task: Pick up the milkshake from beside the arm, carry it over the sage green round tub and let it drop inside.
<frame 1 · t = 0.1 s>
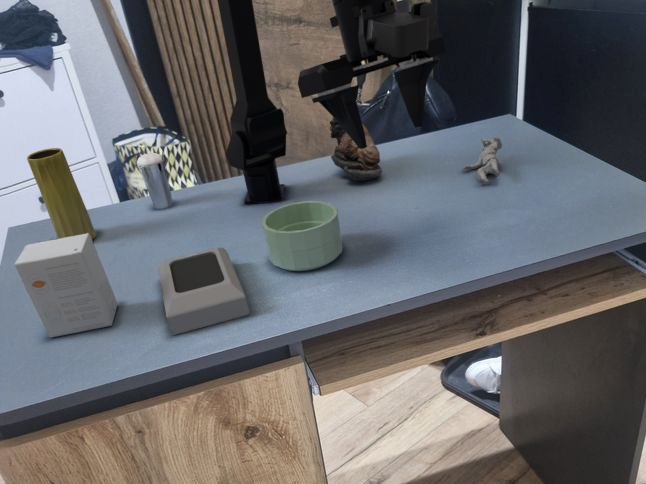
hand: (391, 137, 78), 15 cm above the table, tool pointing down, fingers open, 9 cm apart
milkshake: (166, 206, 113), on the table
vase: (79, 240, 105), on the table
small box: (85, 322, 82), on the table
sage green round tub: (306, 256, 90), on the table
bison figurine: (357, 176, 114), on the table
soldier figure: (488, 173, 107), on the table
grey flat block: (204, 298, 84), on the table
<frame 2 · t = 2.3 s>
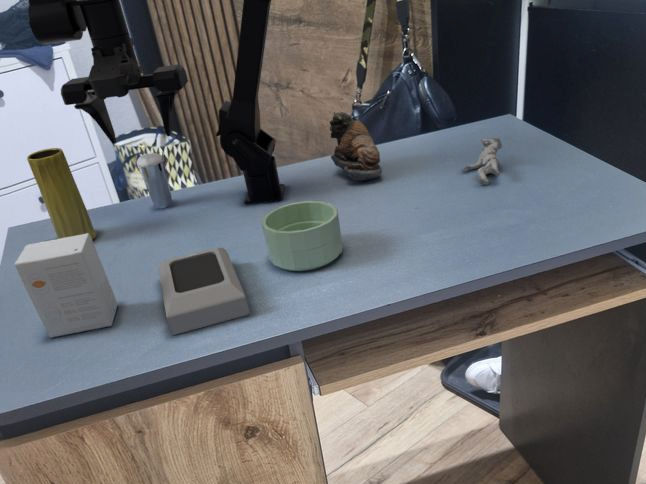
hand: (141, 139, 105), 12 cm above the table, tool pointing down, fingers open, 9 cm apart
nothing on the table moved.
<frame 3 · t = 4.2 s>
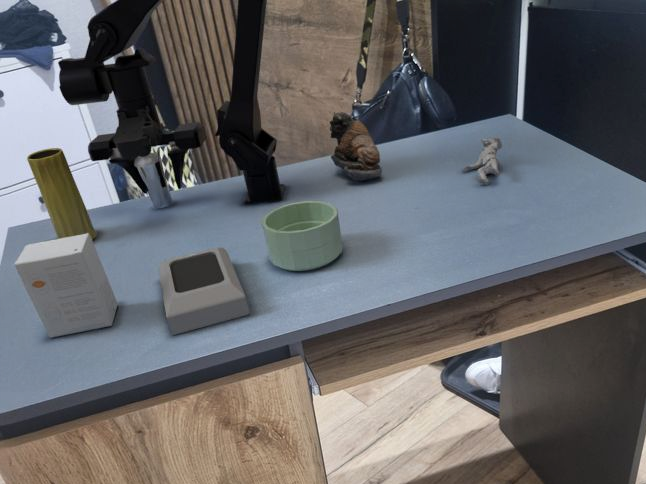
hand: (162, 190, 111), 3 cm above the table, tool pointing down, fingers closed on milkshake, 6 cm apart
milkshake: (166, 205, 113), on the table, touching gripper
everything else where it was.
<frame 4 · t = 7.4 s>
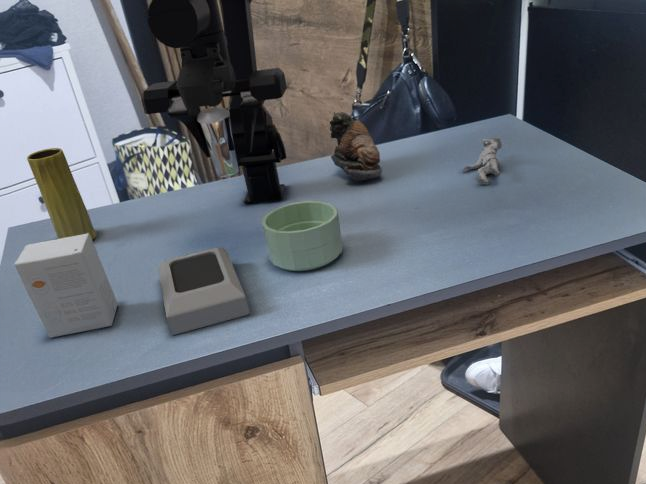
hand: (229, 154, 91), 13 cm above the table, tool pointing down, fingers closed on milkshake, 5 cm apart
milkshake: (231, 174, 92), point 10 cm above the table, touching gripper
everything else where it was.
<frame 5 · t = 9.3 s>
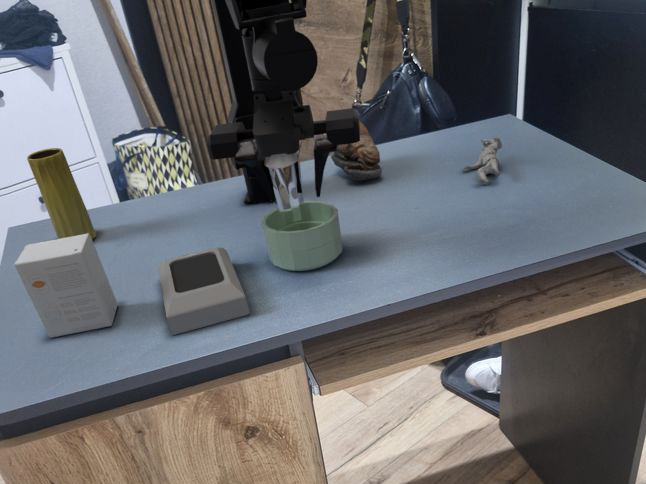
hand: (296, 198, 85), 8 cm above the table, tool pointing down, fingers closed on milkshake, 6 cm apart
milkshake: (297, 218, 86), point 6 cm above the table, touching gripper
everything else where it was.
when the fingers open (6 cm above the table, at t = 11.2 s): milkshake stays where it is, resting on sage green round tub.
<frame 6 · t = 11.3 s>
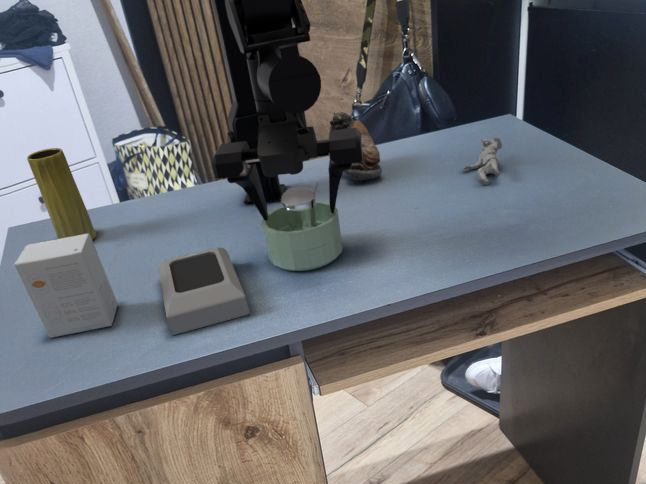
hand: (299, 215, 86), 6 cm above the table, tool pointing down, fingers open, 9 cm apart
milkshake: (310, 253, 89), resting on sage green round tub
everything else where it was.
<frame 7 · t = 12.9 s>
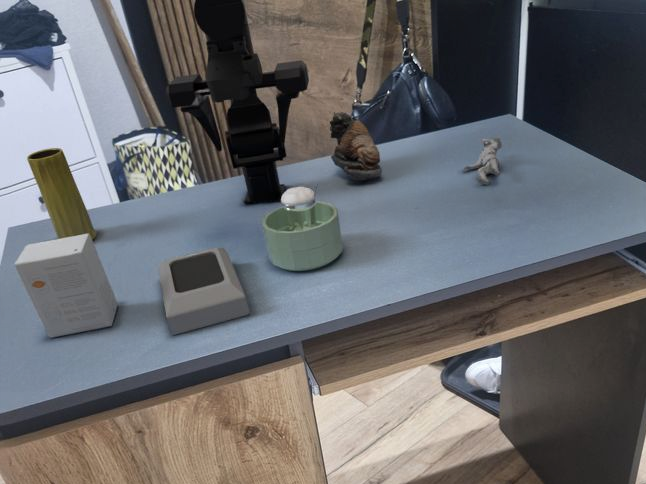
hand: (251, 146, 92), 13 cm above the table, tool pointing down, fingers open, 9 cm apart
nothing on the table moved.
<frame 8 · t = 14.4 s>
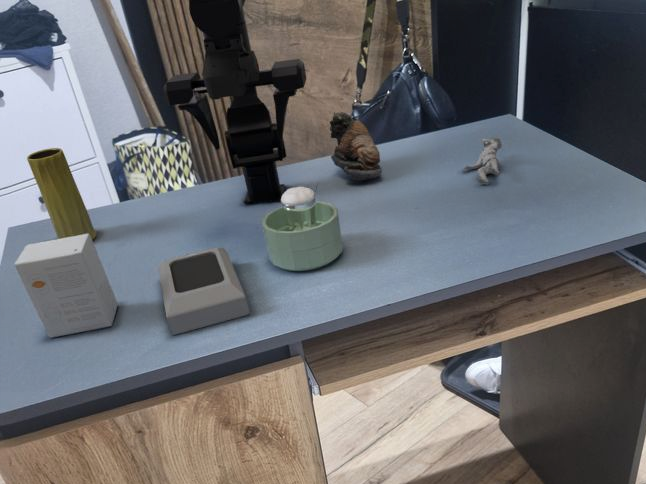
hand: (249, 145, 92), 13 cm above the table, tool pointing down, fingers open, 9 cm apart
nothing on the table moved.
at the end: milkshake inside the target area in the sage green round tub (0.6 cm from its centre), point 0.4 cm above the sage green round tub's base; the gripper is holding nothing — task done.
